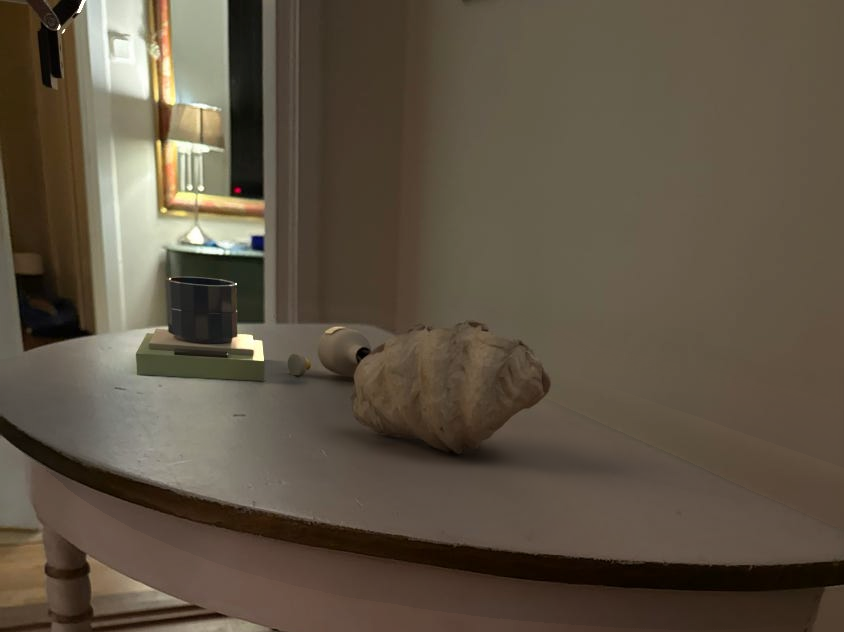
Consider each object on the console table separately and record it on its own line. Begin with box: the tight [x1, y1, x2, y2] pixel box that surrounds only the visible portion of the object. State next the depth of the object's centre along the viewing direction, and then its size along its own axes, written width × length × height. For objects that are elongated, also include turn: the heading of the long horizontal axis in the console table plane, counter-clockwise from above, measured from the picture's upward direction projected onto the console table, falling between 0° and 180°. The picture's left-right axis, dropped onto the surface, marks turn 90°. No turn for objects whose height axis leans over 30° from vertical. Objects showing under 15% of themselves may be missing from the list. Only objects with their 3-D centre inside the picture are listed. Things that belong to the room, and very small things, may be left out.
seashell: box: [350, 319, 552, 454], centre depth 73 cm, size 10×15×10 cm
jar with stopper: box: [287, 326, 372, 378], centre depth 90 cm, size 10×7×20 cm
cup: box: [165, 276, 238, 344], centre depth 93 cm, size 7×7×6 cm
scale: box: [135, 328, 265, 382], centre depth 94 cm, size 12×12×3 cm
